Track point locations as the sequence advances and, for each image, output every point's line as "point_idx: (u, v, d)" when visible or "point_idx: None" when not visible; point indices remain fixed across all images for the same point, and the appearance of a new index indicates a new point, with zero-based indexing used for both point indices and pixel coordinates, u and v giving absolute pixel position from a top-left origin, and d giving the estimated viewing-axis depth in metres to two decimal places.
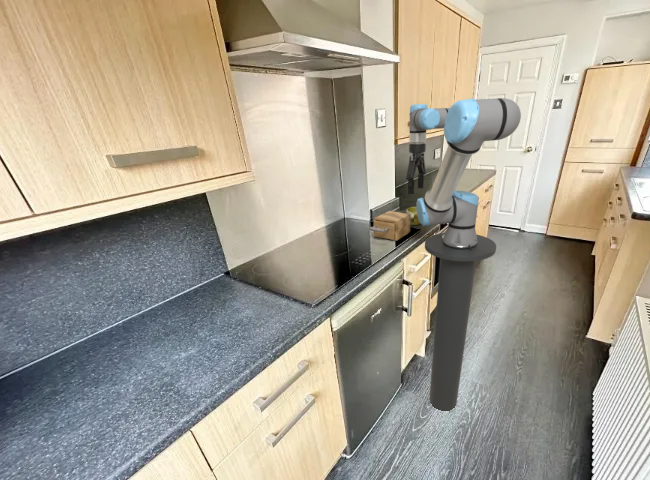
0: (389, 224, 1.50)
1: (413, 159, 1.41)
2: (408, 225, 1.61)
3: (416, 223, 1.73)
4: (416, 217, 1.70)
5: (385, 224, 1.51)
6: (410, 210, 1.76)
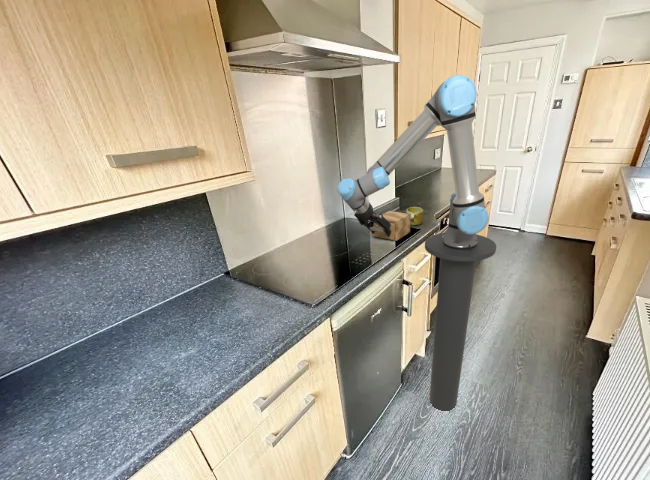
0: None
1: (382, 216, 1.36)
2: (408, 225, 1.61)
3: (416, 223, 1.73)
4: (416, 217, 1.70)
5: None
6: (410, 210, 1.76)
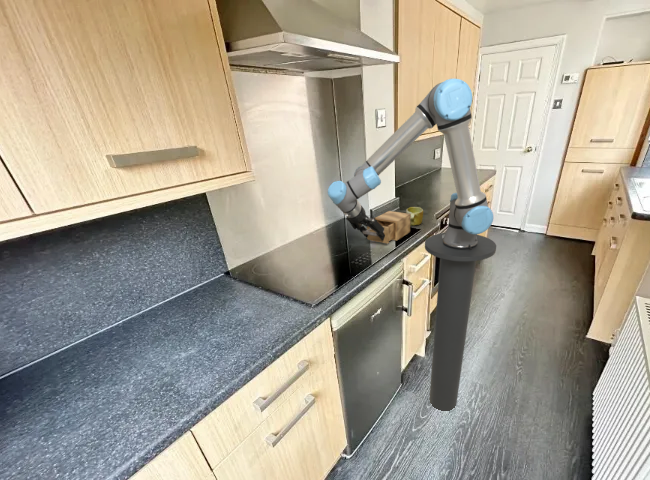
0: None
1: (374, 219, 1.32)
2: (408, 225, 1.61)
3: (416, 223, 1.73)
4: (416, 217, 1.70)
5: None
6: (410, 210, 1.76)
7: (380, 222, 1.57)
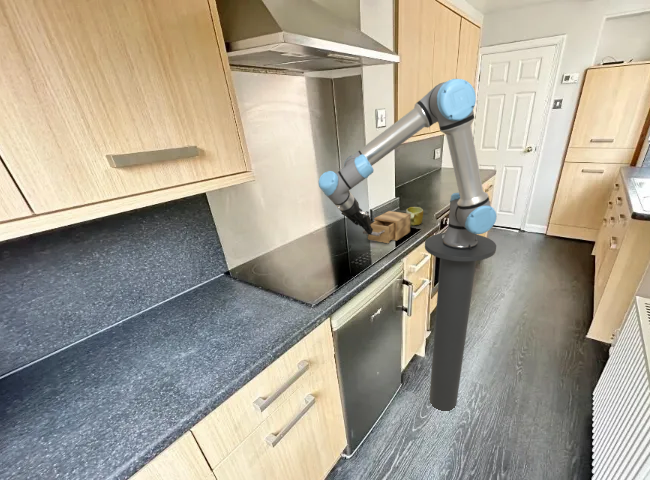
0: (383, 227, 1.46)
1: (368, 214, 1.28)
2: (408, 225, 1.61)
3: (416, 223, 1.73)
4: (416, 217, 1.70)
5: (379, 227, 1.47)
6: (410, 210, 1.76)
7: (380, 222, 1.58)
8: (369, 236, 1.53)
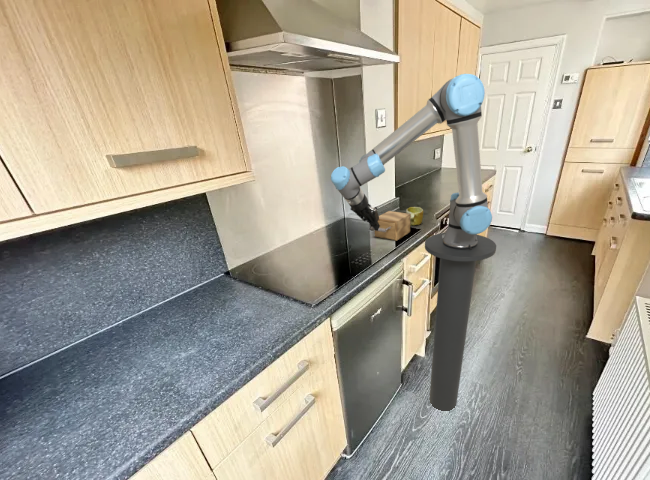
0: (390, 224, 1.51)
1: (376, 209, 1.32)
2: (408, 225, 1.61)
3: (416, 223, 1.73)
4: (416, 217, 1.70)
5: (386, 224, 1.52)
6: (410, 210, 1.76)
7: None
8: (376, 232, 1.57)
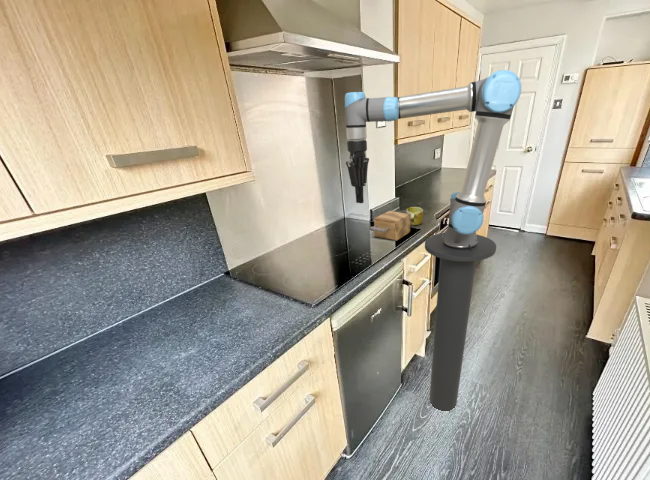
0: (390, 224, 1.51)
1: (351, 165, 1.19)
2: (408, 225, 1.61)
3: (416, 223, 1.73)
4: (416, 217, 1.70)
5: (386, 224, 1.52)
6: (410, 210, 1.76)
7: None
8: (376, 232, 1.57)
